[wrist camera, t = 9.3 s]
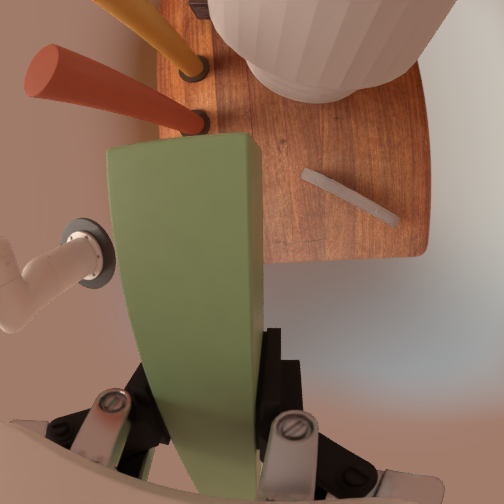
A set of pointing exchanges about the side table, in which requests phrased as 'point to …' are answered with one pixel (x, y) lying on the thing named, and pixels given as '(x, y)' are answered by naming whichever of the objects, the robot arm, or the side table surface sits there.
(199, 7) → the box
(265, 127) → the side table surface
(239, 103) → the side table surface
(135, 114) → the terracotta rod
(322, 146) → the side table surface
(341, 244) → the side table surface
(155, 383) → the green bar
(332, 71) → the table lamp
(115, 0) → the ochre rod
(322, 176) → the grey flat slab
